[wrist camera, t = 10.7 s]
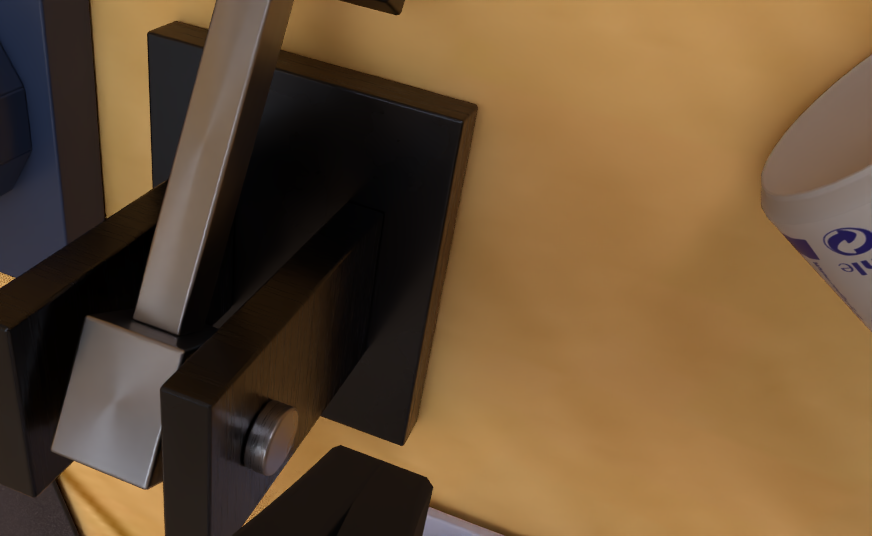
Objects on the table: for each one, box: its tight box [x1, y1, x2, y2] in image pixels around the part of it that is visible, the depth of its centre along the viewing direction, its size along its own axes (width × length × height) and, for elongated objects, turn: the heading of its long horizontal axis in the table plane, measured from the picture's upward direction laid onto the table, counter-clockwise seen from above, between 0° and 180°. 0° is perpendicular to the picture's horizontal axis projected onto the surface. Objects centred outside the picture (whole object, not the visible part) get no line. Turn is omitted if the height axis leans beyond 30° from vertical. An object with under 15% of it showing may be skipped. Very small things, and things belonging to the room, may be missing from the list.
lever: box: [50, 0, 405, 489], centre depth 16 cm, size 11×6×2 cm, turn 170°
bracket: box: [0, 21, 478, 536], centre depth 19 cm, size 10×8×9 cm
